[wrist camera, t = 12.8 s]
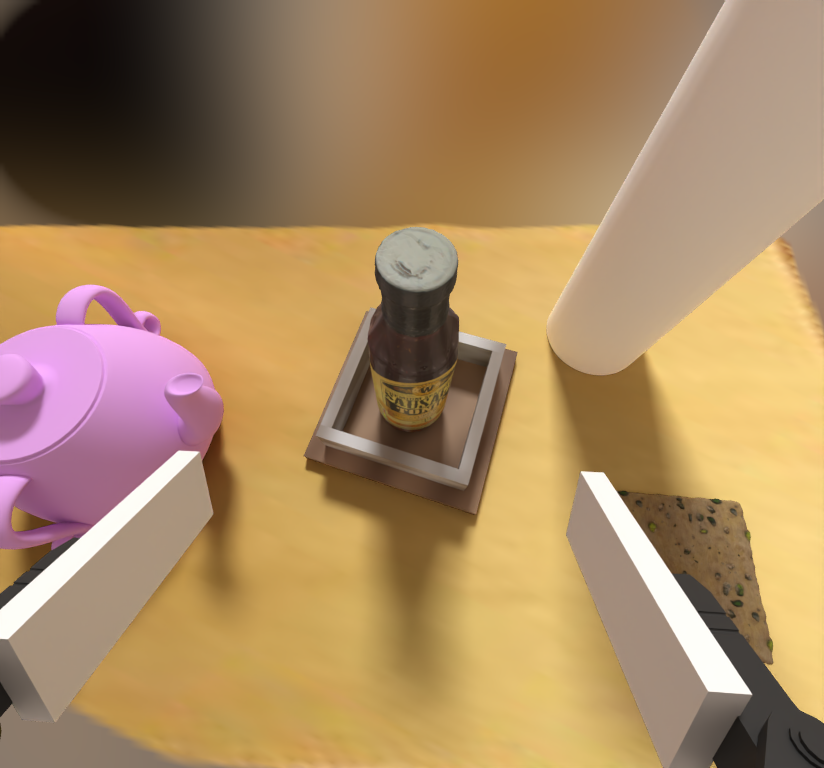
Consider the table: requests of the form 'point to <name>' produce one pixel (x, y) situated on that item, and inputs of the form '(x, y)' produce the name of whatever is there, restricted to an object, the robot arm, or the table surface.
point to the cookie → (708, 554)
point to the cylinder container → (704, 185)
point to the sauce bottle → (414, 327)
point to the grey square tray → (422, 450)
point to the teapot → (93, 415)
